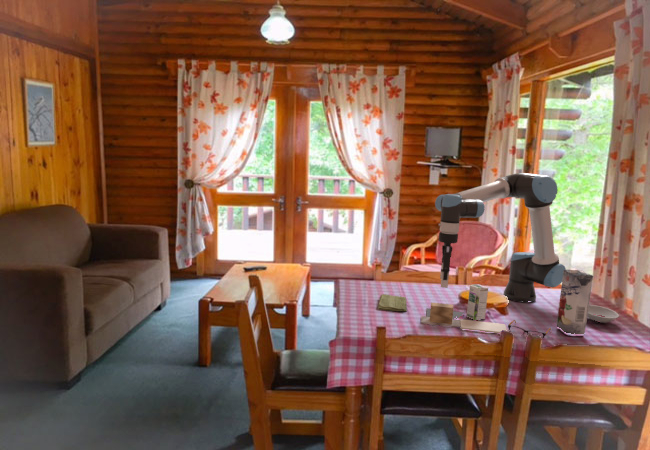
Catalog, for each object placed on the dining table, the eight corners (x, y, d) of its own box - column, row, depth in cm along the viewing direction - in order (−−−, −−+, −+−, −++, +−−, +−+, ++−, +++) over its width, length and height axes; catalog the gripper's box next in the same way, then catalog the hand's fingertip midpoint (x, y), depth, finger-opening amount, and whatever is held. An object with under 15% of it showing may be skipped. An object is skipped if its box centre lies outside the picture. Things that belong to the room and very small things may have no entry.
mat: (463, 312, 229) (463, 312, 229) (464, 321, 218) (464, 320, 218) (426, 308, 232) (426, 308, 232) (426, 316, 221) (426, 316, 221)
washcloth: (377, 311, 227) (377, 304, 226) (379, 299, 244) (379, 292, 243) (407, 314, 225) (407, 307, 224) (407, 301, 242) (407, 295, 241)
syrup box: (465, 316, 224) (469, 284, 221) (476, 315, 226) (479, 283, 224) (474, 321, 219) (478, 288, 216) (485, 319, 221) (488, 287, 219)
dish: (572, 314, 235) (574, 303, 234) (605, 316, 234) (606, 305, 233) (589, 328, 217) (591, 316, 216) (624, 330, 216) (626, 319, 216)
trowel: (459, 322, 217) (461, 304, 216) (460, 329, 209) (462, 310, 208) (421, 318, 220) (422, 300, 219) (420, 324, 212) (422, 306, 211)
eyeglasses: (506, 334, 206) (507, 325, 205) (515, 324, 218) (516, 315, 217) (544, 343, 198) (545, 333, 198) (551, 332, 210) (552, 323, 210)
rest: (504, 326, 213) (504, 324, 213) (507, 335, 204) (508, 332, 204) (459, 321, 217) (460, 319, 217) (461, 330, 207) (461, 327, 207)
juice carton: (574, 328, 216) (582, 266, 211) (587, 338, 205) (596, 272, 201) (553, 327, 215) (561, 265, 211) (565, 337, 205) (574, 271, 200)
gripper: (439, 226, 221) (434, 274, 224) (439, 236, 197) (434, 290, 200) (456, 228, 219) (452, 276, 223) (459, 238, 195) (454, 292, 199)
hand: (443, 283), depth 212 cm, fingers open, 13 cm apart
